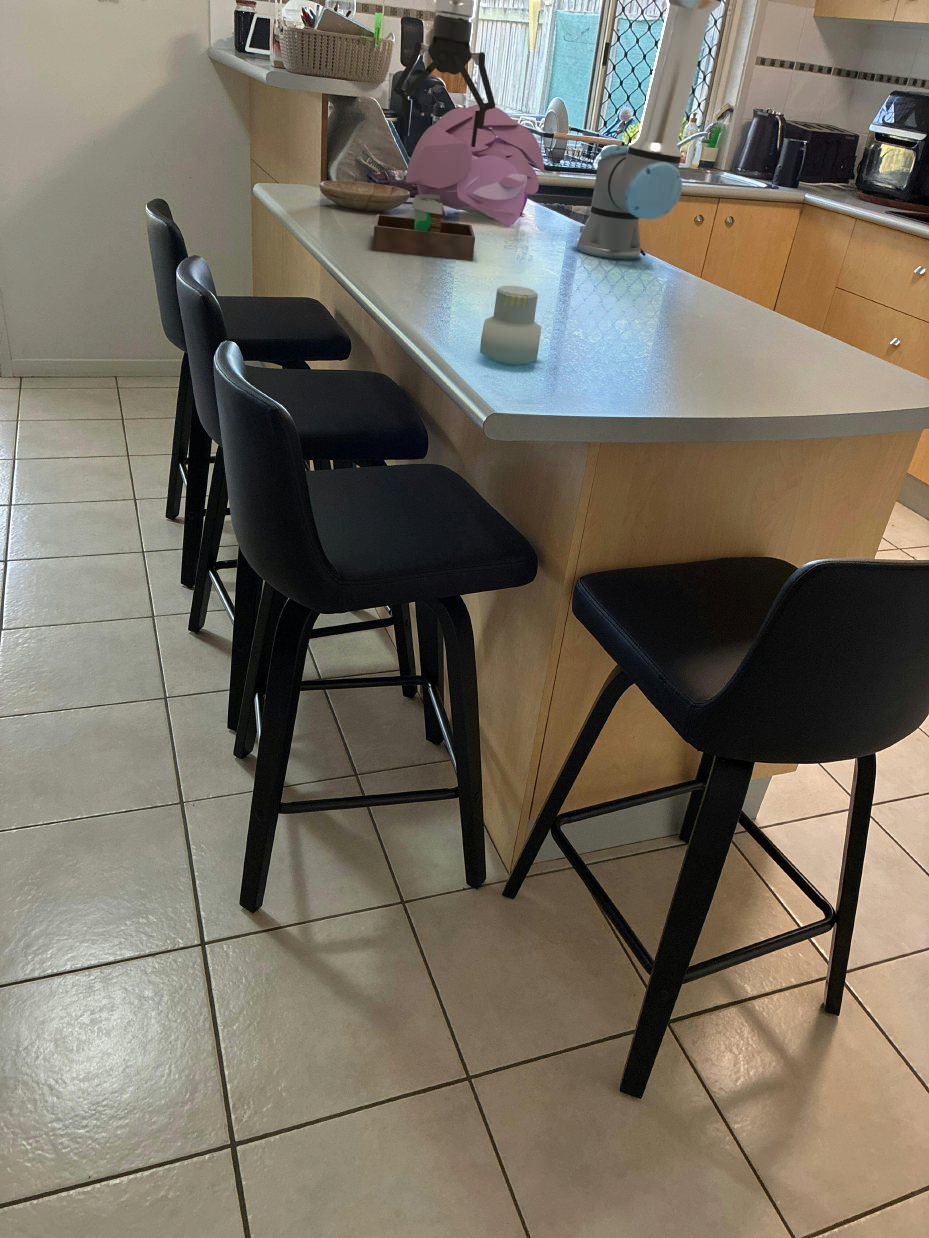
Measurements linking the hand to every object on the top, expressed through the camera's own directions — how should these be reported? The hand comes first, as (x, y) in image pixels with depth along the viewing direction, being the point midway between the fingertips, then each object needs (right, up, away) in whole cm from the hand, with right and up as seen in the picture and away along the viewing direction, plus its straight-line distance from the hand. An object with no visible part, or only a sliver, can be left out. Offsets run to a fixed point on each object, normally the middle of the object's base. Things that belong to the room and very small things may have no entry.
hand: (439, 141), depth 185 cm
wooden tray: (-4, -16, +14) cm, 22 cm away
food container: (-4, -16, +14) cm, 22 cm away
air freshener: (+11, -59, -51) cm, 79 cm away
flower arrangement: (+7, +10, +59) cm, 60 cm away
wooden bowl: (-21, +10, +53) cm, 58 cm away
